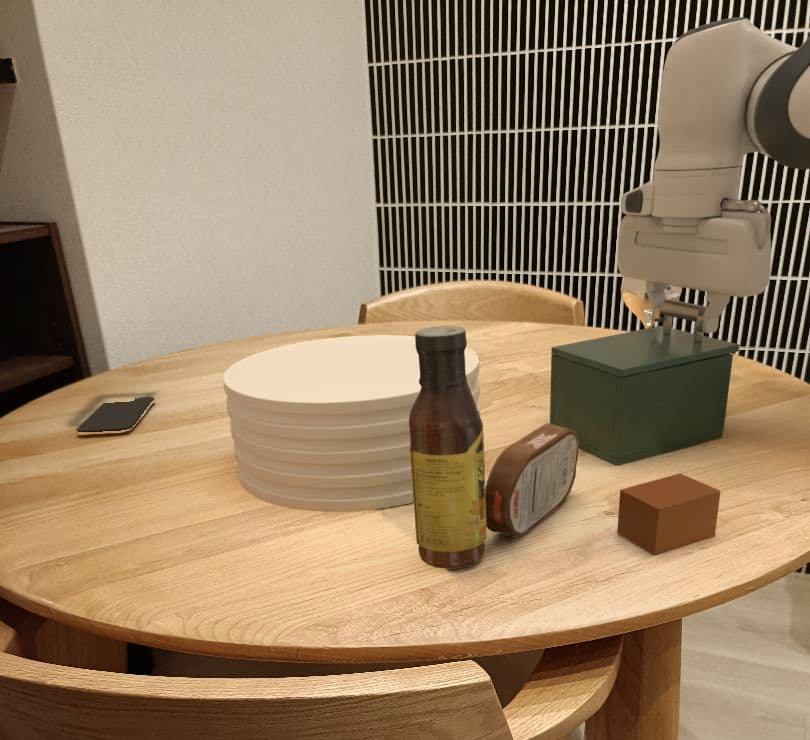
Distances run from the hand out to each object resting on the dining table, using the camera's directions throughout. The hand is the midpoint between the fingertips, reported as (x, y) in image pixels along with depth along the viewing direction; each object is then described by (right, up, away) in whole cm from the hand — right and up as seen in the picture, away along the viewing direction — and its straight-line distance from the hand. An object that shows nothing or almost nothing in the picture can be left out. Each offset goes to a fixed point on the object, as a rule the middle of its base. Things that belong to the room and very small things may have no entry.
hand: (682, 326), depth 95 cm
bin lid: (-5, -3, -1) cm, 6 cm away
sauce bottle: (-28, -26, -22) cm, 44 cm away
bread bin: (-5, -12, +3) cm, 14 cm away
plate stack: (-37, -16, 0) cm, 41 cm away
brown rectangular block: (-8, -24, -20) cm, 33 cm away
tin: (-20, -23, -16) cm, 34 cm away
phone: (-73, -8, +21) cm, 76 cm away
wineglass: (+3, -1, +25) cm, 26 cm away
